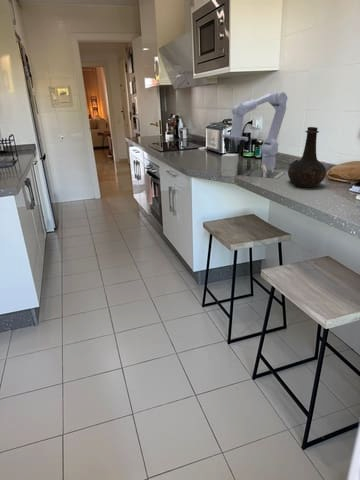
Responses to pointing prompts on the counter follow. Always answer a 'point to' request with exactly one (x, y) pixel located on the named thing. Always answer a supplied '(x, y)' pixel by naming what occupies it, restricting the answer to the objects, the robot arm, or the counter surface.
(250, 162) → the post right
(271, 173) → the panel
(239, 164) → the post left
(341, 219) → the counter surface
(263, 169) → the paddle
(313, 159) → the glass bottle
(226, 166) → the supplement box
